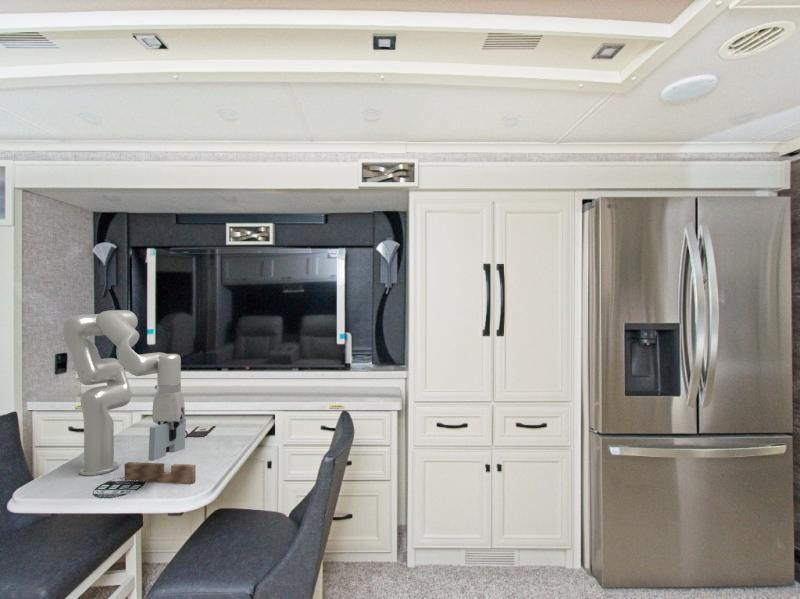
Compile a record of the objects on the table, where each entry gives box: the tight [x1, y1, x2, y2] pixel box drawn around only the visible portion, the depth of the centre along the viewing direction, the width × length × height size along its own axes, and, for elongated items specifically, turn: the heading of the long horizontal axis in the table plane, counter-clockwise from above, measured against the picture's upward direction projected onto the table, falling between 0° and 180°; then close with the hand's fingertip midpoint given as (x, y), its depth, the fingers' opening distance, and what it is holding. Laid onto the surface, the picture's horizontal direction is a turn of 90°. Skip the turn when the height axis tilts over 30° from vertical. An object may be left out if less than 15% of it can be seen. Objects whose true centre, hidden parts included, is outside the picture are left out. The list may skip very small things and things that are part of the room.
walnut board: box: [124, 461, 197, 485], centre depth 166 cm, size 26×2×6 cm, turn 83°
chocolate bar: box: [185, 425, 216, 439], centre depth 229 cm, size 9×1×18 cm
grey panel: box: [147, 418, 187, 462], centre depth 166 cm, size 18×2×11 cm, turn 173°
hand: (169, 439), depth 167 cm, fingers closed on grey panel, 1 cm apart
